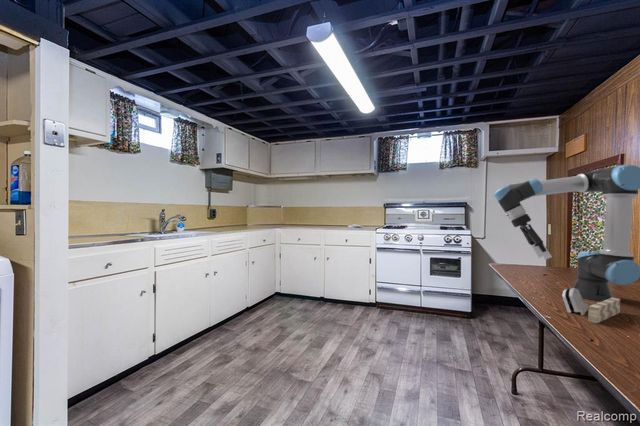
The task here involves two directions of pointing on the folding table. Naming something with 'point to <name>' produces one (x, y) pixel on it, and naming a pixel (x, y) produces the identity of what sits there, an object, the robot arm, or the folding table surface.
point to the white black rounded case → (574, 301)
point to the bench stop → (603, 310)
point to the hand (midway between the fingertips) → (545, 257)
